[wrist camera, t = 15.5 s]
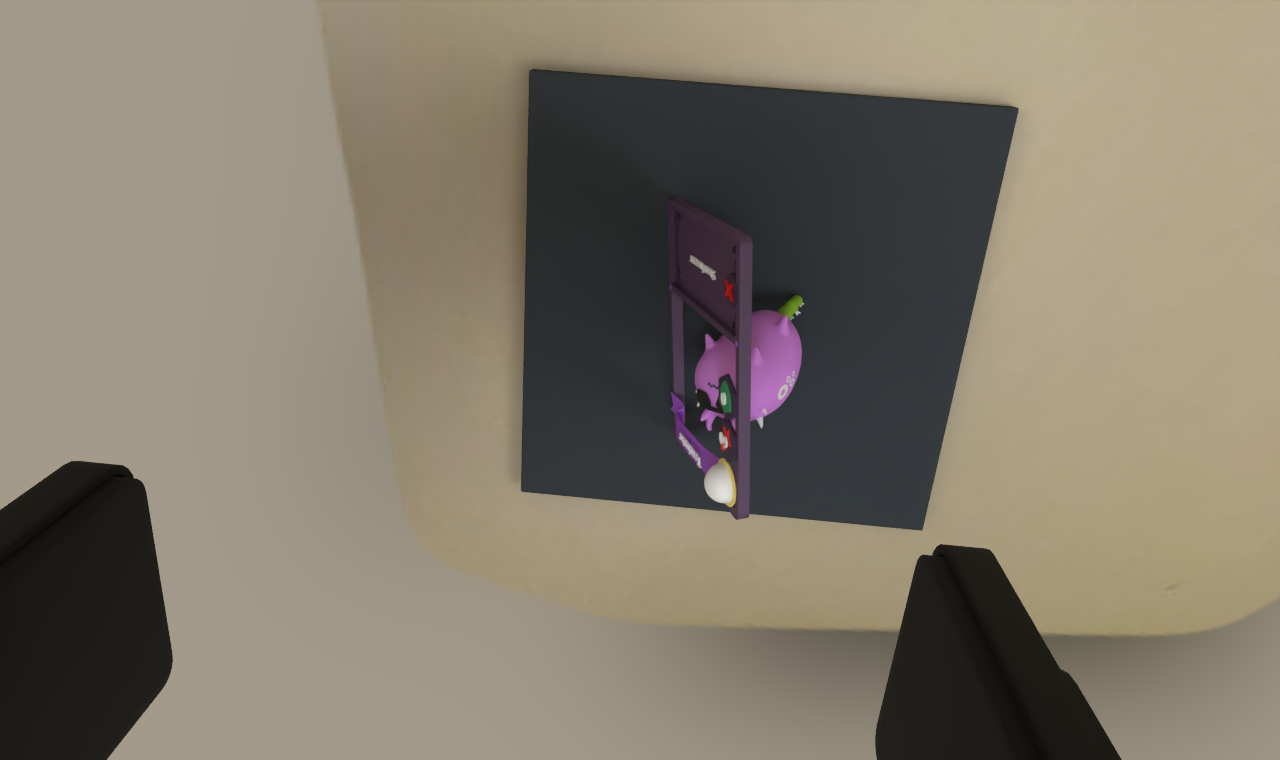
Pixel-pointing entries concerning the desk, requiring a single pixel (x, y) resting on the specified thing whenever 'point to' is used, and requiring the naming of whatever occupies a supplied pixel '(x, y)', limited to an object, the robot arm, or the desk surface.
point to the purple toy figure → (726, 347)
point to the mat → (781, 268)
